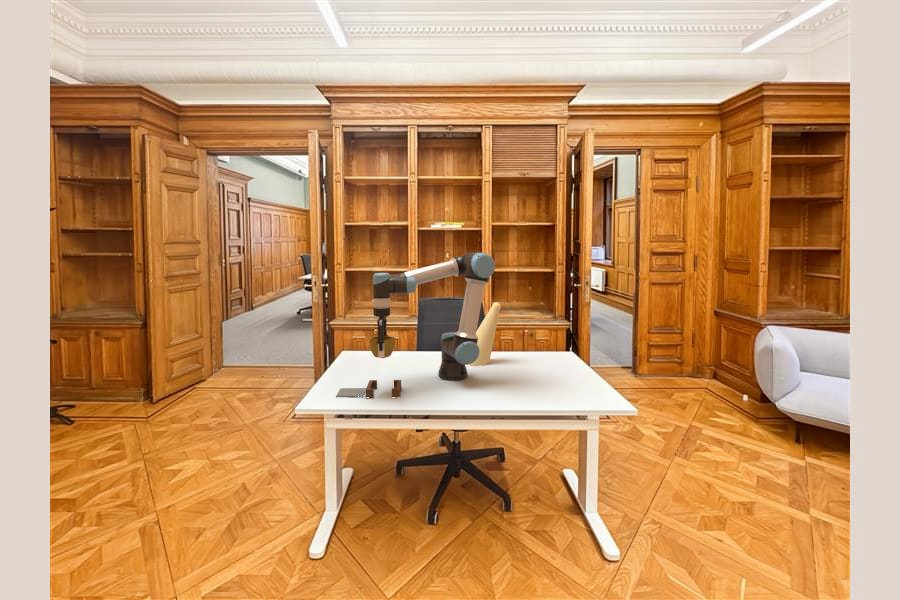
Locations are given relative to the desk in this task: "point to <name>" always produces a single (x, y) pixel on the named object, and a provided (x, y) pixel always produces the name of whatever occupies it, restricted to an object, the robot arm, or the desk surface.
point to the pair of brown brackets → (373, 385)
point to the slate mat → (351, 392)
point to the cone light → (487, 335)
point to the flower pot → (388, 345)
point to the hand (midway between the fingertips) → (382, 354)
